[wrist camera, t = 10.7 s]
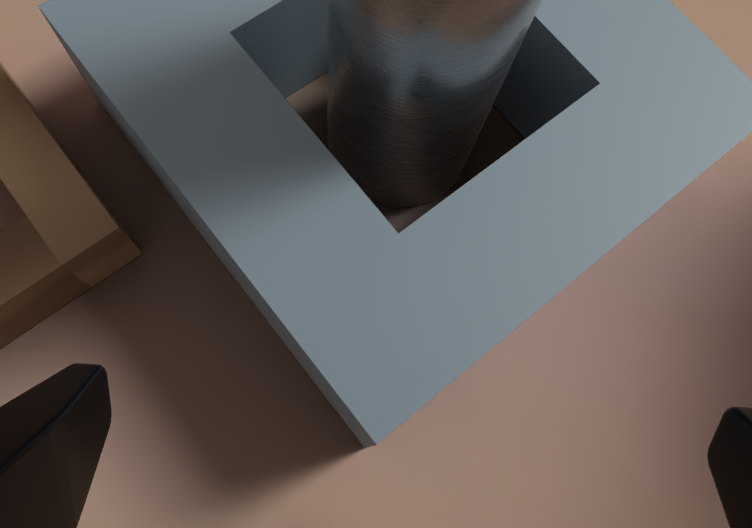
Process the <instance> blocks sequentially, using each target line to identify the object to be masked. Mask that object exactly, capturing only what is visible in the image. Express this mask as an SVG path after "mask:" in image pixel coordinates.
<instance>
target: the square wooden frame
mask: <svg viewBox="0 0 752 528" xmlns="http://www.w3.org/2000/svg"><path fill="white" fill-rule="evenodd" d="M0 179H1V180H2V182H3V183H4V185H5V186H6V187H7V189H8V190H9V192H10V193H11V194H12V196H13V197H14V199H15V200H16V202H17V203H18V204H19V206H20V207H21V209H22V210H23V211H24V213H25V214H26V217H25V218H23V219H21V220H20V221H18V222H17V223H15V224H13V225H12V226H10V227H9V228H7V229H5V230H4V231H2V232H1V233H0V349H1V348H3V347H4V346H6V345H7V344H9V343H10V342H12V341H13V340H15V339H16V338H18V337H19V336H21V335H22V334H24V333H25V332H27V331H28V330H29V329H31V328H32V327H34V326H35V325H37V324H38V323H40V322H41V321H43V320H44V319H46V318H47V317H49V316H50V315H52V314H53V313H55V312H56V311H58V310H59V309H61V308H62V307H64V306H65V305H67V304H68V303H70V302H71V301H73V300H74V299H75V298H77V297H78V296H80V295H81V294H83V293H84V292H86V291H87V290H89V289H90V288H92V287H93V286H95V285H96V284H98V283H99V282H101V281H102V280H104V279H105V278H107V277H108V276H110V275H111V274H113V273H114V272H116V271H117V270H119V269H120V268H122V267H123V266H124V265H126V264H127V263H129V262H130V261H132V260H133V259H135V258H136V257H138V256H139V255H141V254H142V253H141V251H140V250H139V249H138V247H137V246H136V245H135V243H134V242H133V241H132V239H131V238H130V237H129V235H128V234H127V232H126V231H125V230H124V228H123V227H122V226H121V224H120V223H119V222H118V220H117V219H116V218H115V216H114V215H113V214H112V212H111V211H110V210H109V208H108V207H107V205H106V204H105V203H104V201H103V200H102V199H101V197H100V196H99V195H98V193H97V192H96V191H95V189H94V188H93V187H92V185H91V184H90V183H89V181H88V180H87V178H86V177H85V176H84V174H83V173H82V172H81V170H80V169H79V168H78V166H77V165H76V164H75V162H74V161H73V160H72V158H71V157H70V155H69V154H68V153H67V151H66V150H65V149H64V147H63V146H62V145H61V143H60V142H59V141H58V139H57V138H56V137H55V135H54V134H53V133H52V131H51V130H50V128H49V127H48V126H47V124H46V123H45V122H44V120H43V119H42V118H41V116H40V115H39V114H38V112H37V111H36V110H35V108H34V107H33V106H32V104H31V103H30V101H29V100H28V99H27V97H26V96H25V95H24V93H23V92H22V91H21V89H20V88H19V87H18V85H17V84H16V83H15V81H14V80H13V79H12V77H11V76H10V74H9V73H8V72H7V70H6V69H5V68H4V66H3V65H2V64H1V62H0Z"/></svg>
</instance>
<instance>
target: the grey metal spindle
mask: <svg viewBox="0 0 752 528" xmlns="http://www.w3.org/2000/svg"><path fill="white" fill-rule="evenodd" d="M541 1H542V0H328V150H329V151H330V153H331V154H332V155H333V156H334V157H335V159H336V160H337V161H338V162H339V163H340V164H341V166H342V167H343V168H344V169H345V170H346V172H347V173H348V174H349V175H350V176H351V178H352V179H353V180H354V181H355V182H356V184H357V185H358V186H359V187H360V188H361V189H362V191H363V192H364V193H365V194H366V195H367V197H368V198H369V199H370V200H371V201H372V202H373V203H376V204H379V205H383V206H387V207H396V208H403V207H413V206H418V205H422V204H425V203H428V202H430V201H432V200H434V199H436V198H438V197H439V196H441V195H442V194H444V193H445V192H446V191H447V190H449V189H450V187H451V186H452V185H453V184H454V183H455V182H456V180H457V179H458V177H459V176H460V174H461V172H462V170H463V168H464V166H465V163H466V161H467V159H468V157H469V155H470V153H471V151H472V148H473V146H474V144H475V142H476V140H477V138H478V136H479V134H480V131H481V129H482V127H483V125H484V123H485V121H486V119H487V116H488V114H489V112H490V110H491V108H492V106H493V104H494V101H495V99H496V97H497V95H498V93H499V91H500V89H501V87H502V84H503V82H504V80H505V78H506V76H507V74H508V72H509V69H510V67H511V65H512V63H513V61H514V59H515V57H516V54H517V52H518V50H519V48H520V46H521V44H522V42H523V39H524V37H525V35H526V33H527V31H528V29H529V27H530V25H531V22H532V20H533V18H534V16H535V14H536V12H537V10H538V7H539V5H540V3H541Z"/></svg>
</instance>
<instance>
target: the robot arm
mask: <svg viewBox="0 0 752 528" xmlns="http://www.w3.org/2000/svg"><path fill="white" fill-rule="evenodd" d="M111 413H112V412H111V403H110V395H109V387H108V379H107V373H106V370H105V368H104V367H102V366H101V365H94V364H80V363H77V364H72V365H70V366H68V367H66V368H65V369H63V370H61V371H60V372H58V373H56V374H55V375H53V376H51V377H50V378H48V379H46V380H45V381H43V382H41V383H40V384H38V385H36V386H35V387H33V388H31V389H30V390H28V391H26V392H24V393H23V394H21V395H19V396H18V397H16V398H14V399H13V400H11V401H9V402H8V403H6V404H4V405H3V406H1V407H0V528H76V527H77V525H78V522H79V519H80V516H81V513H82V511H83V508H84V505H85V501H86V498H87V495H88V492H89V489H90V486H91V483H92V480H93V477H94V474H95V471H96V468H97V465H98V462H99V458H100V455H101V452H102V449H103V446H104V443H105V440H106V437H107V434H108V431H109V427H110V423H111ZM708 463H709V467H710V470H711V473H712V476H713V479H714V482H715V485H716V488H717V491H718V494H719V497H720V500H721V503H722V506H723V508H724V511H725V514H726V517H727V520H728V523H729V526H730V528H752V408H746V407H731V408H729V409H727V410H726V411H725V412H724V414H723V416H722V418H721V421H720V423H719V425H718V427H717V430H716V432H715V434H714V436H713V439H712V441H711V443H710V446H709V449H708Z"/></svg>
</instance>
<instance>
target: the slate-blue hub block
mask: <svg viewBox="0 0 752 528" xmlns="http://www.w3.org/2000/svg"><path fill="white" fill-rule="evenodd" d="M38 7H39V9H40V10H41V12H42V13H43V15H44V16H45V18H46V20H47V21H48V23H49V24H50V26H51V27H52V29H53V31H54V32H55V34H56V35H57V37H58V38H59V40H60V42H61V43H62V45H63V46H64V48H65V49H66V51H67V53H68V54H69V56H70V57H71V59H72V60H73V62H74V64H75V65H76V67H77V68H78V70H79V71H80V73H81V75H82V76H83V78H84V79H85V81H86V82H87V84H88V86H89V87H90V89H91V90H92V92H93V93H94V95H95V97H96V98H97V100H98V101H99V103H100V104H101V105H102V106H103V108H104V109H105V110H106V112H107V113H108V114H109V116H110V117H111V118H112V120H113V121H114V122H115V123H116V125H117V126H118V127H119V129H120V130H121V131H122V133H123V134H124V135H125V136H126V138H127V139H128V140H129V142H130V143H131V144H132V146H133V147H134V148H135V149H136V151H137V152H138V153H139V155H140V156H141V157H142V159H143V160H144V161H145V163H146V164H147V165H148V166H149V168H150V169H151V170H152V172H153V173H154V174H155V176H156V177H157V178H158V179H159V181H160V182H161V183H162V185H163V186H164V187H165V189H166V190H167V191H168V193H169V194H170V195H171V196H172V198H173V199H174V200H175V202H176V203H177V204H178V206H179V207H180V208H181V209H182V211H183V212H184V213H185V215H186V216H187V217H188V219H189V220H190V221H191V222H192V224H193V225H194V226H195V228H196V229H197V230H198V232H199V233H200V234H201V236H202V237H203V238H204V239H205V241H206V242H207V243H208V245H209V246H210V247H211V249H212V250H213V251H214V252H215V254H216V255H217V256H218V258H219V259H220V260H221V262H222V263H223V264H224V265H225V267H226V268H227V269H228V271H229V272H230V273H231V275H232V276H233V277H234V279H235V280H236V281H237V282H238V284H239V285H240V286H241V288H242V289H243V290H244V292H245V293H246V294H247V295H248V297H249V298H250V299H251V301H252V302H253V303H254V305H255V306H256V307H257V309H258V310H259V311H260V312H261V314H262V315H263V316H264V318H265V319H266V320H267V322H268V323H269V324H270V325H271V327H272V328H273V329H274V331H275V332H276V333H277V335H278V336H279V337H280V338H281V340H282V341H283V342H284V344H285V345H286V346H287V348H288V349H289V350H290V352H291V353H292V354H293V355H294V357H295V358H296V359H297V361H298V362H299V363H300V365H301V366H302V367H303V368H304V370H305V371H306V372H307V374H308V375H309V376H310V378H311V379H312V380H313V381H314V383H315V384H316V385H317V387H318V388H319V389H320V391H321V392H322V393H323V395H324V396H325V397H326V398H327V400H328V401H329V402H330V404H331V405H332V406H333V408H334V409H335V410H336V411H337V413H338V414H339V415H340V417H341V418H342V419H343V421H344V422H345V423H346V425H347V426H348V427H349V428H350V430H351V431H352V432H353V434H354V435H355V436H356V438H357V439H358V440H359V441H360V443H361V444H362V445H363V447H364V448H367V447H370V446H374V445H377V444H378V443H379V442H380V441H381V440H383V439H384V438H385V437H386V436H387V435H389V434H390V433H391V432H392V431H393V430H395V429H396V428H397V427H398V426H399V425H401V424H402V423H403V422H404V421H405V420H407V419H408V418H409V417H410V416H411V415H413V414H414V413H415V412H416V411H417V410H419V409H420V408H421V407H422V406H423V405H424V404H426V403H427V402H428V401H429V400H430V399H432V398H433V397H434V396H435V395H436V394H438V393H439V392H440V391H441V390H442V389H444V388H445V387H446V386H447V385H448V384H450V383H451V382H452V381H453V380H454V379H456V378H457V377H458V376H459V375H460V374H462V373H463V372H464V371H465V370H466V369H468V368H469V367H470V366H471V365H472V364H474V363H475V362H476V361H477V360H478V359H480V358H481V357H482V356H483V355H484V354H486V353H487V352H488V351H489V350H490V349H492V348H493V347H494V346H495V345H496V344H498V343H499V342H500V341H501V340H502V339H504V338H505V337H506V336H507V335H508V334H510V333H511V332H512V331H513V330H514V329H516V328H517V327H518V326H519V325H520V324H522V323H523V322H524V321H525V320H526V319H528V318H529V317H530V316H531V315H532V314H534V313H535V312H536V311H537V310H538V309H540V308H541V307H542V306H543V305H544V304H545V303H547V302H548V301H549V300H550V299H551V298H553V297H554V296H555V295H556V294H557V293H559V292H560V291H561V290H562V289H563V288H565V287H566V286H567V285H568V284H569V283H571V282H572V281H573V280H574V279H575V278H577V277H578V276H579V275H580V274H581V273H583V272H584V271H585V270H586V269H587V268H589V267H590V266H591V265H592V264H593V263H595V262H596V261H597V260H598V259H599V258H601V257H602V256H603V255H604V254H605V253H607V252H608V251H609V250H610V249H611V248H613V247H614V246H615V245H616V244H617V243H619V242H620V241H621V240H622V239H623V238H625V237H626V236H627V235H628V234H629V233H631V232H632V231H633V230H634V229H635V228H637V227H638V226H639V225H640V224H641V223H643V222H644V221H645V220H646V219H647V218H649V217H650V216H651V215H652V214H653V213H655V212H656V211H657V210H658V209H659V208H660V207H662V206H663V205H664V204H665V203H666V202H668V201H669V200H670V199H671V198H672V197H674V196H675V195H676V194H677V193H678V192H680V191H681V190H682V189H683V188H684V187H686V186H687V185H688V184H689V183H690V182H692V181H693V180H694V179H695V178H696V177H698V176H699V175H700V174H701V173H702V172H704V171H705V170H706V169H707V168H708V167H710V166H711V165H712V164H713V163H714V162H716V161H717V160H718V159H719V158H720V157H722V156H723V155H724V154H725V153H726V152H728V151H729V150H730V149H731V148H732V147H734V146H735V145H736V144H737V143H738V142H740V141H741V140H742V139H743V138H744V137H746V136H747V135H748V134H749V133H750V132H752V80H751V79H750V78H749V77H747V76H746V75H745V74H744V73H743V72H742V71H741V70H740V69H739V68H738V67H737V66H736V65H735V64H734V63H733V62H732V61H731V60H730V59H729V58H728V57H727V56H726V55H725V54H724V53H723V52H722V51H721V50H720V49H719V48H718V47H717V46H716V45H715V44H714V43H712V42H711V41H710V40H709V39H708V38H707V37H706V36H705V35H704V34H703V33H702V32H701V31H700V30H699V29H698V28H697V27H696V26H695V25H694V24H693V23H692V22H691V21H690V20H689V19H688V18H687V17H686V16H685V15H684V14H683V13H682V12H681V11H680V10H678V9H677V8H676V7H675V6H674V5H673V4H672V3H671V2H670V1H669V0H542V1H541V3H540V5H539V7H538V10H537V12H536V14H535V16H534V18H533V20H532V22H531V25H530V27H529V29H528V31H527V33H526V35H525V37H524V39H523V42H522V44H521V46H520V48H519V50H518V52H517V54H516V57H515V59H514V61H513V63H512V65H511V67H510V69H509V72H508V74H507V76H506V78H505V80H504V82H503V84H502V87H501V89H500V91H499V93H498V95H497V97H496V99H495V101H494V104H493V105H494V106H495V107H496V108H497V109H498V110H499V111H500V112H501V113H502V114H503V115H504V117H505V118H506V119H507V120H508V121H509V122H510V123H511V124H512V125H513V126H514V127H515V129H516V130H517V131H518V132H519V133H520V134H521V135H522V136H523V137H524V138H525V140H523V141H522V142H521V143H519V144H518V145H517V146H515V147H514V148H513V149H511V150H510V151H509V152H507V153H506V154H505V155H503V156H502V157H501V158H499V159H498V160H497V161H495V162H494V163H492V164H491V165H490V166H488V167H487V168H486V169H484V170H483V171H482V172H480V173H479V174H478V175H476V176H475V177H474V178H472V179H471V180H470V181H468V182H467V183H466V184H464V185H463V186H462V187H460V188H459V189H458V190H456V191H455V192H454V193H452V194H451V195H450V196H448V197H447V198H445V199H444V200H443V201H441V202H440V203H439V204H437V205H436V206H435V207H433V208H432V209H431V210H429V211H428V212H427V213H425V214H424V215H423V216H421V217H420V218H419V219H417V220H416V221H415V222H413V223H412V224H411V225H409V226H408V227H407V228H405V229H404V230H403V231H401V232H400V233H398V232H397V231H396V230H395V229H394V228H393V226H392V225H391V224H390V223H389V222H388V220H387V219H386V218H385V217H384V216H383V214H382V213H381V212H380V211H379V210H378V208H377V207H376V206H375V205H374V204H373V203H372V201H371V200H370V199H369V198H368V197H367V195H366V194H365V193H364V192H363V191H362V189H361V188H360V187H359V186H358V185H357V184H356V182H355V181H354V180H353V179H352V178H351V176H350V175H349V174H348V173H347V172H346V170H345V169H344V168H343V167H342V166H341V164H340V163H339V162H338V161H337V160H336V159H335V157H334V156H333V155H332V154H331V153H330V151H329V150H328V149H327V148H326V147H325V145H324V144H323V143H322V142H321V141H320V139H319V138H318V137H317V136H316V135H315V134H314V132H313V131H312V130H311V129H310V128H309V126H308V125H307V124H306V123H305V122H304V120H303V119H302V118H301V117H300V116H299V115H298V113H297V112H296V111H295V110H294V109H293V107H292V106H291V105H290V104H289V103H288V101H287V100H286V99H285V98H286V97H287V96H289V95H291V94H292V93H294V92H295V91H297V90H298V89H300V88H301V87H303V86H304V85H306V84H308V83H309V82H311V81H312V80H314V79H315V78H317V77H318V76H320V75H321V74H323V73H325V72H326V71H328V0H48V1H46V2H44V3H42V4H41V5H39V6H38Z"/></svg>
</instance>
